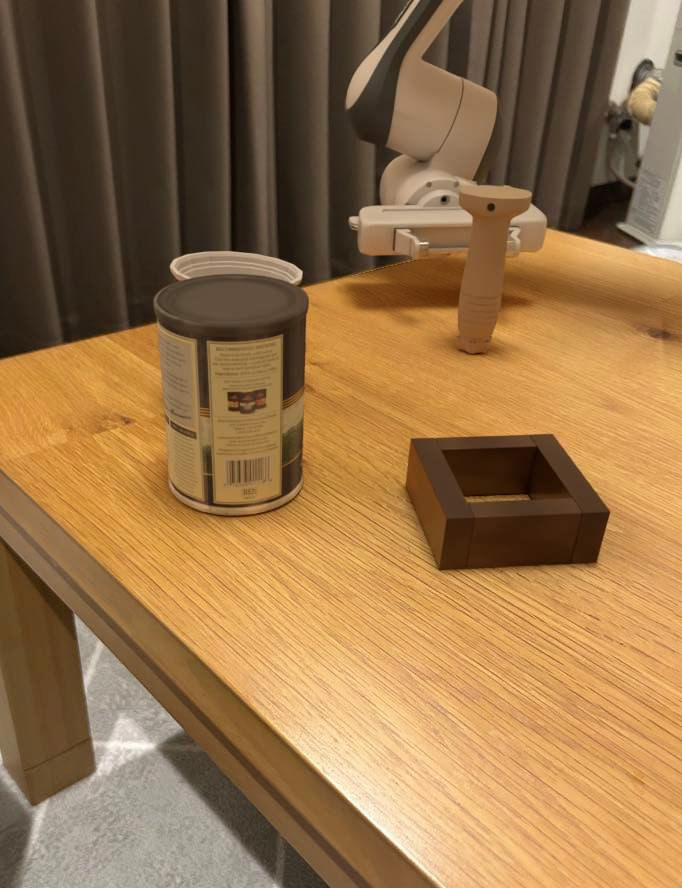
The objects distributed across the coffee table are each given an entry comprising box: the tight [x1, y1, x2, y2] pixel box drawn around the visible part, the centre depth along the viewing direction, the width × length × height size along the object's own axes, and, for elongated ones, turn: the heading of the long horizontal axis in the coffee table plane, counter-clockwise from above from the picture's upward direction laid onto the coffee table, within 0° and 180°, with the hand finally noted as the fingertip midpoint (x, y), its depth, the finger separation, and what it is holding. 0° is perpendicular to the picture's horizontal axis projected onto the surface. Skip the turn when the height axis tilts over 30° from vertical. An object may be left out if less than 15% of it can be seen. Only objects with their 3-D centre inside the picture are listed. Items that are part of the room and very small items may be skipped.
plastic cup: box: [169, 250, 303, 286], centre depth 73 cm, size 11×11×12 cm
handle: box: [456, 185, 533, 355], centre depth 83 cm, size 5×6×15 cm
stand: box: [405, 433, 611, 570], centre depth 60 cm, size 11×11×4 cm
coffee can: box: [153, 274, 310, 517], centre depth 61 cm, size 10×10×14 cm
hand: (467, 250), depth 88 cm, fingers open, 8 cm apart
